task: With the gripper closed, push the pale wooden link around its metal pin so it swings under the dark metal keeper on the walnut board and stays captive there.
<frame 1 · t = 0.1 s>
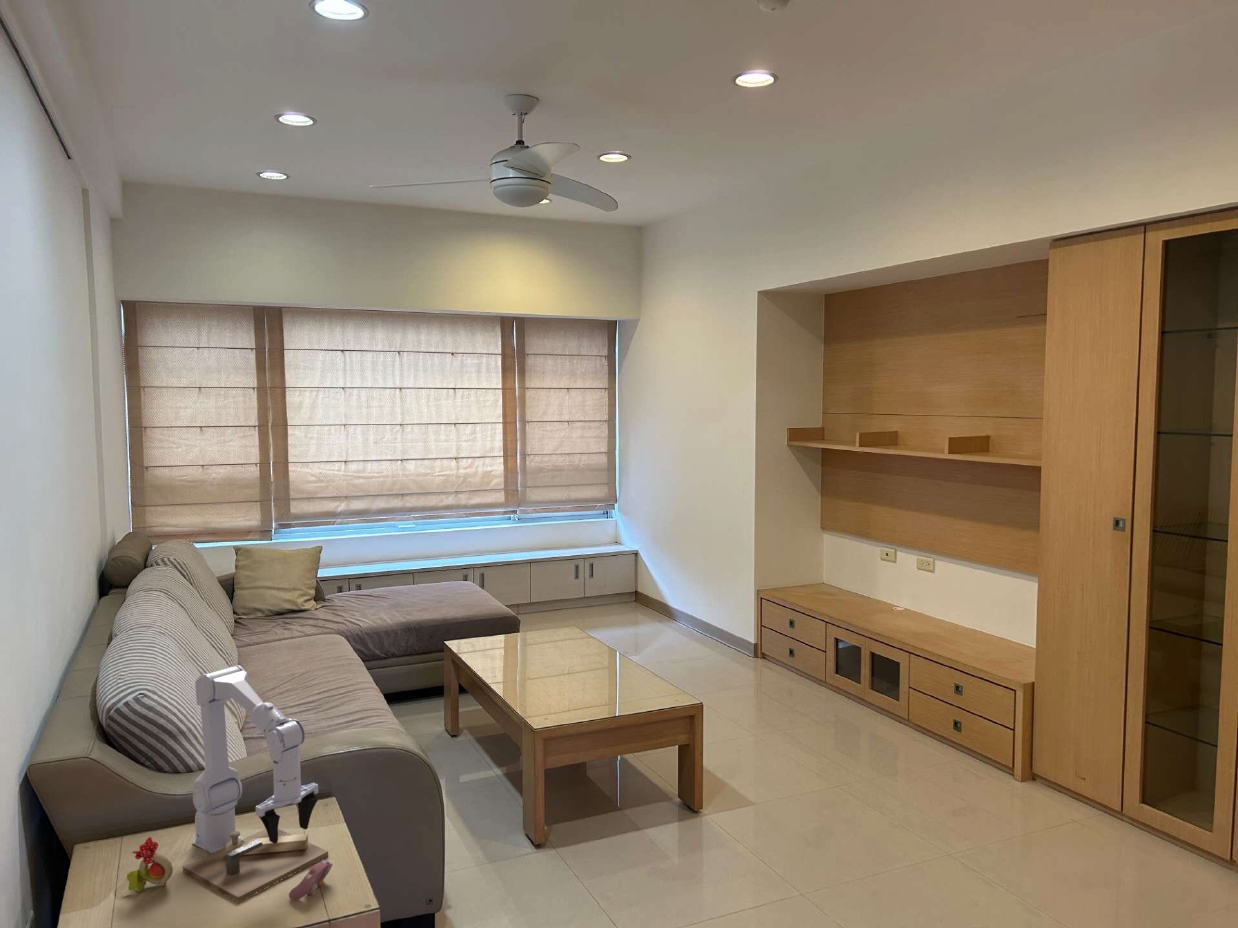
hand: (288, 834, 198), 10 cm above the table, tool pointing down, fingers open, 7 cm apart
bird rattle: (152, 886, 196), on the table
walnut board: (256, 863, 205), on the table
wooden link: (266, 839, 208), point 4 cm above the table, hinge at 45.0°
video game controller: (312, 890, 194), on the table
metal keeper: (253, 867, 203), resting on walnut board
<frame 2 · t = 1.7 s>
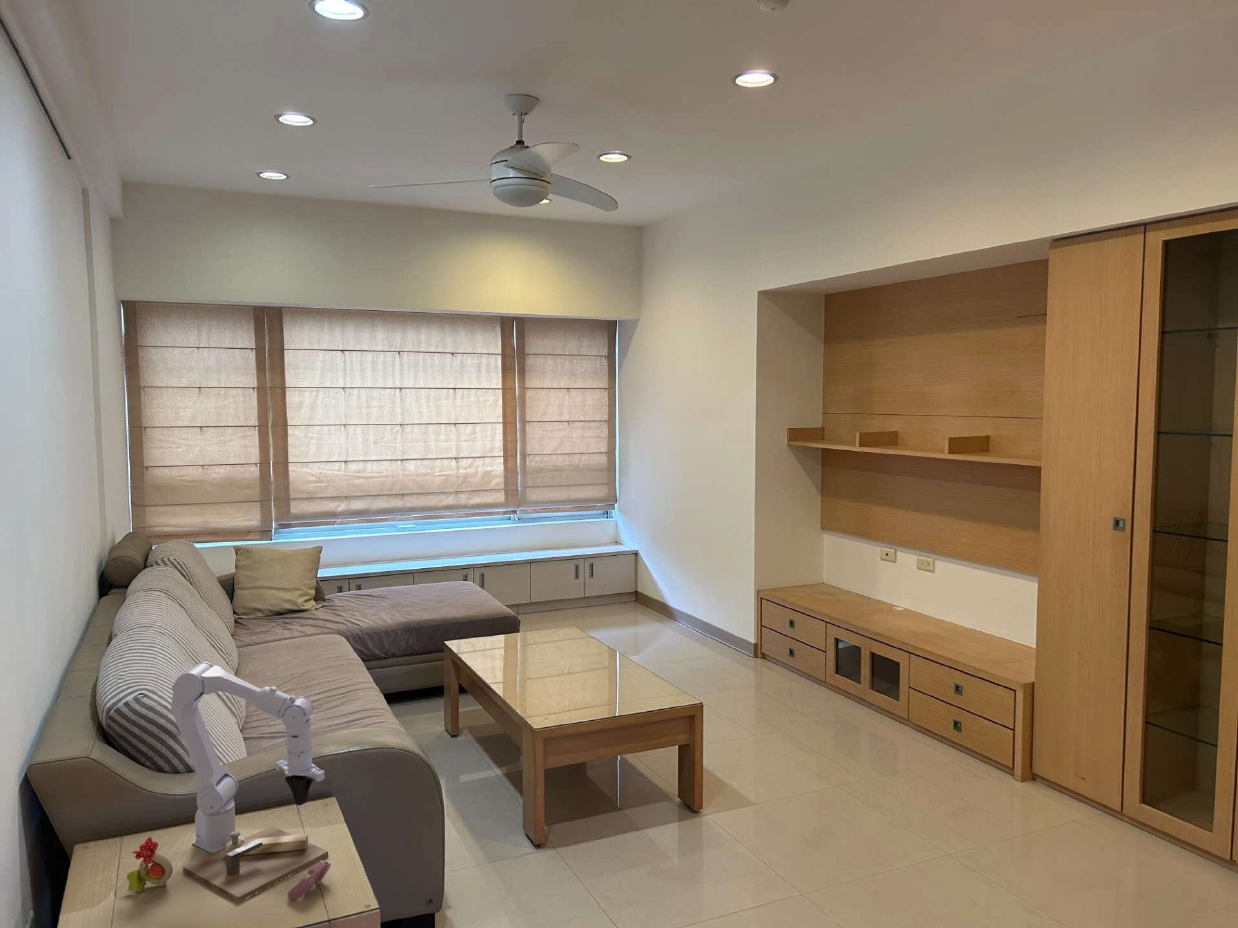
hand: (301, 803, 214), 10 cm above the table, tool pointing down, fingers closed
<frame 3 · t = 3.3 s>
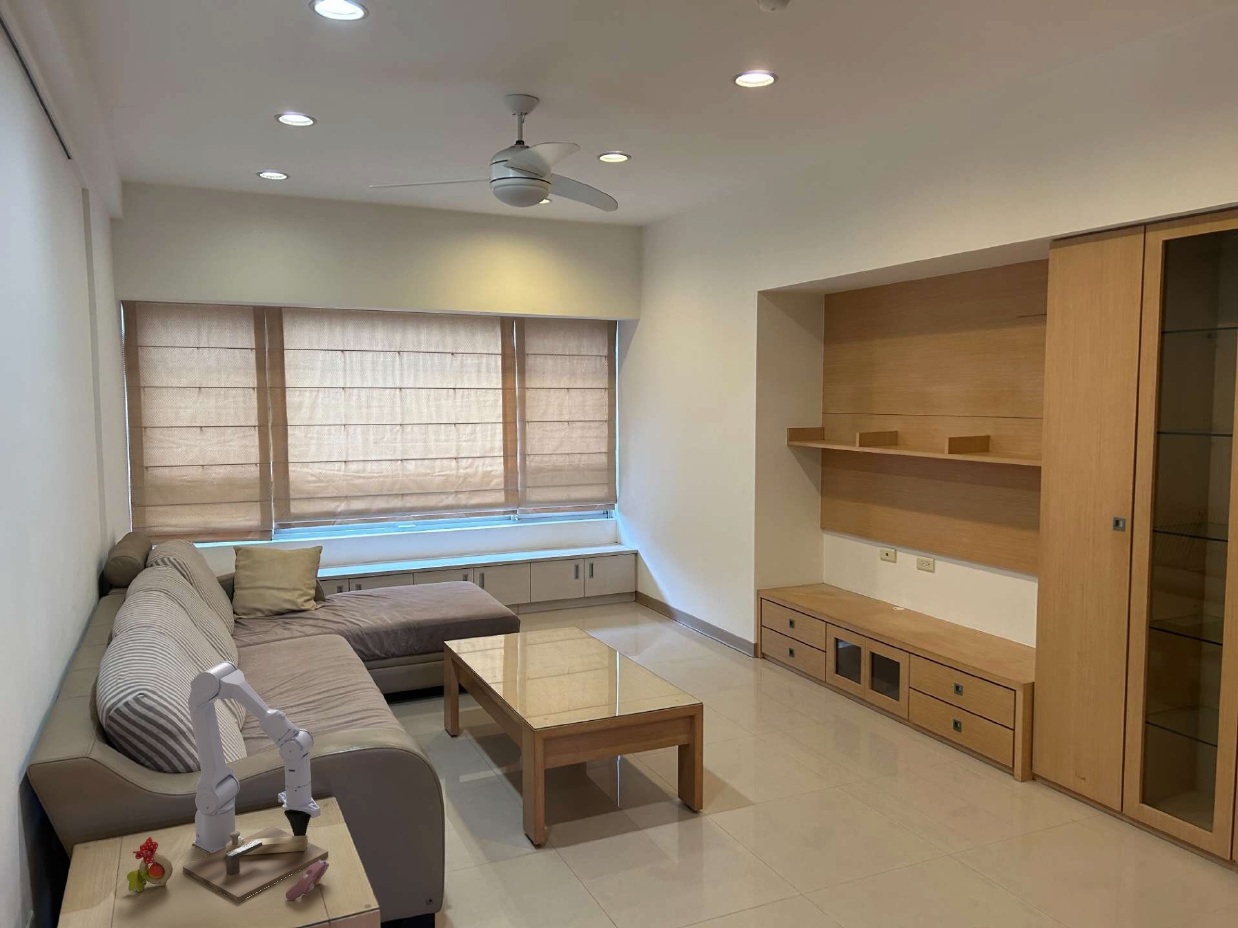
hand: (300, 837, 211), 3 cm above the table, tool pointing down, fingers closed
wooden link: (266, 840, 208), point 4 cm above the table, hinge at 42.4°, touching gripper
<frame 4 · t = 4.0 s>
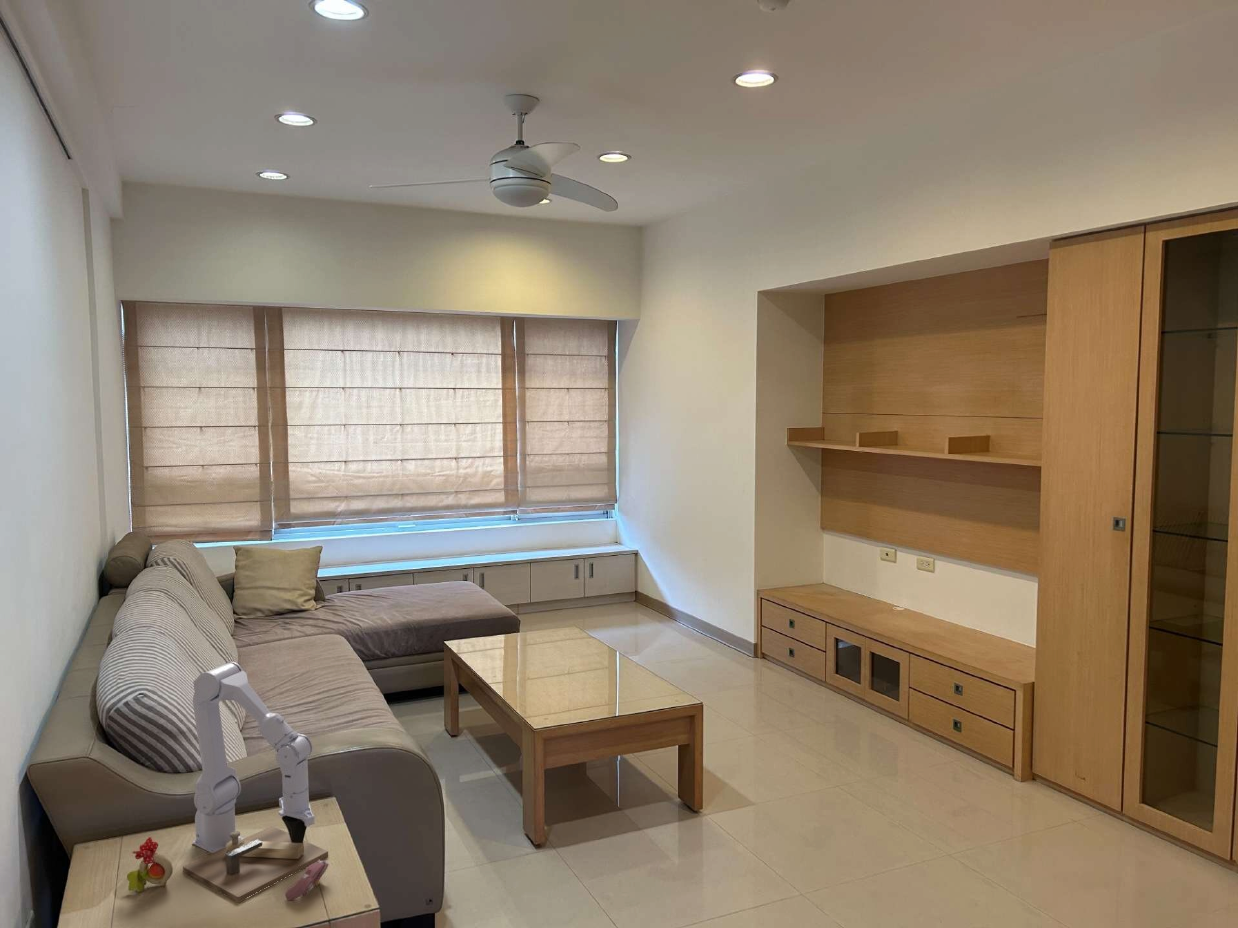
hand: (297, 844, 208), 3 cm above the table, tool pointing down, fingers closed
wooden link: (263, 844, 206), point 4 cm above the table, hinge at 29.1°, touching gripper
everything else where it was.
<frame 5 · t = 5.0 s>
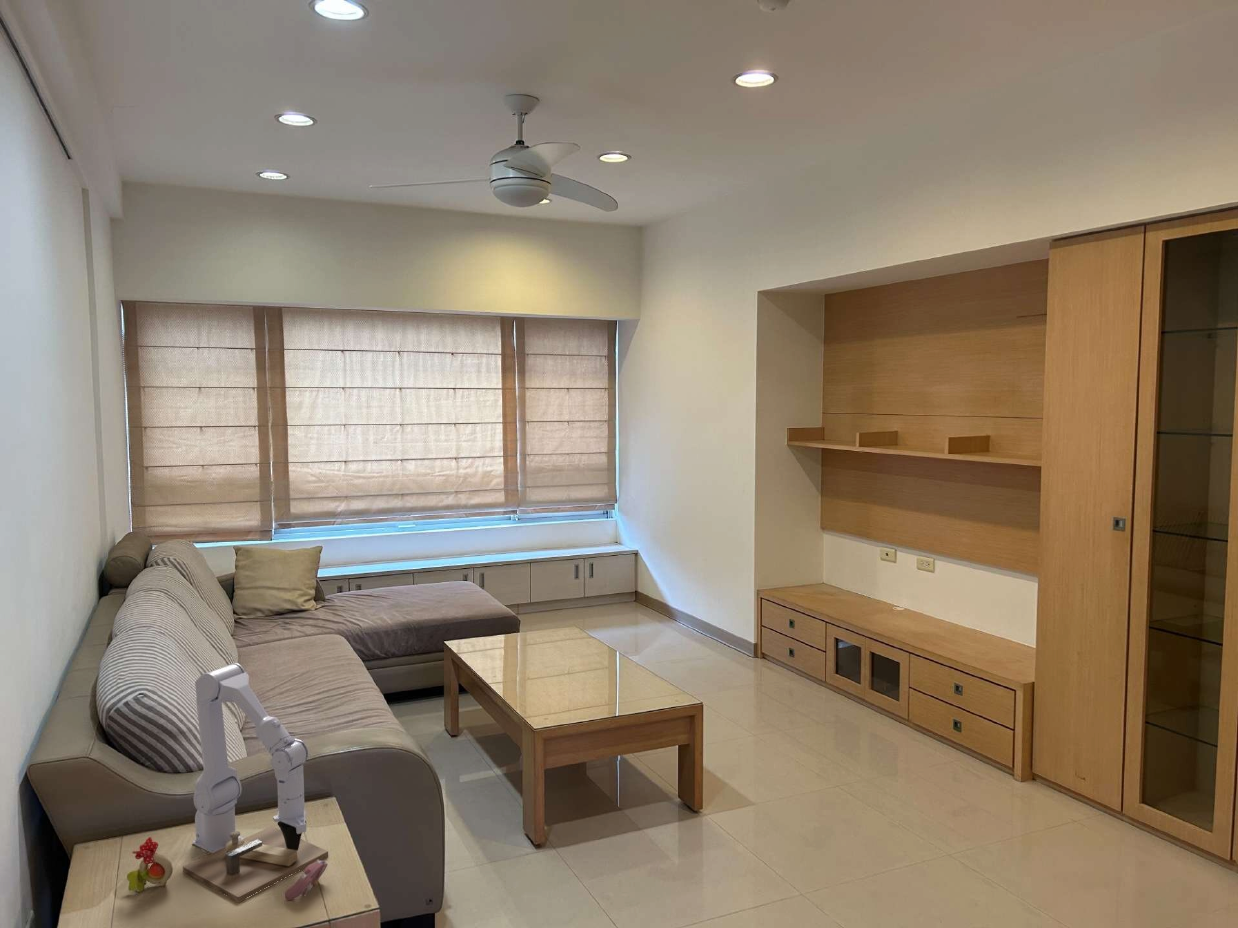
hand: (293, 850, 205), 3 cm above the table, tool pointing down, fingers closed
wooden link: (260, 847, 204), point 4 cm above the table, hinge at 17.3°, touching gripper
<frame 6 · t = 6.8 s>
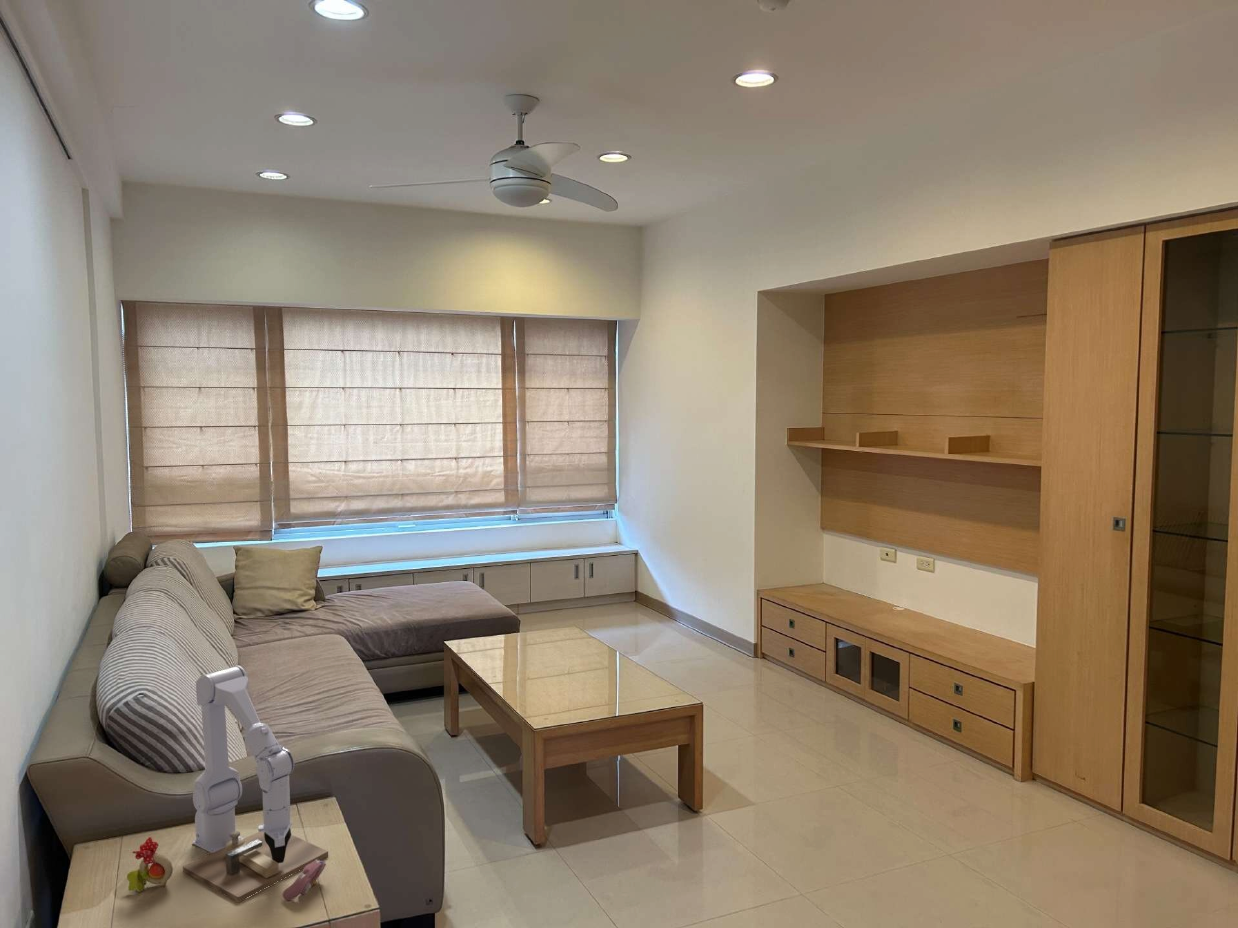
hand: (278, 862, 200), 3 cm above the table, tool pointing down, fingers closed
wooden link: (251, 852, 202), point 4 cm above the table, hinge at -3.8°, touching gripper
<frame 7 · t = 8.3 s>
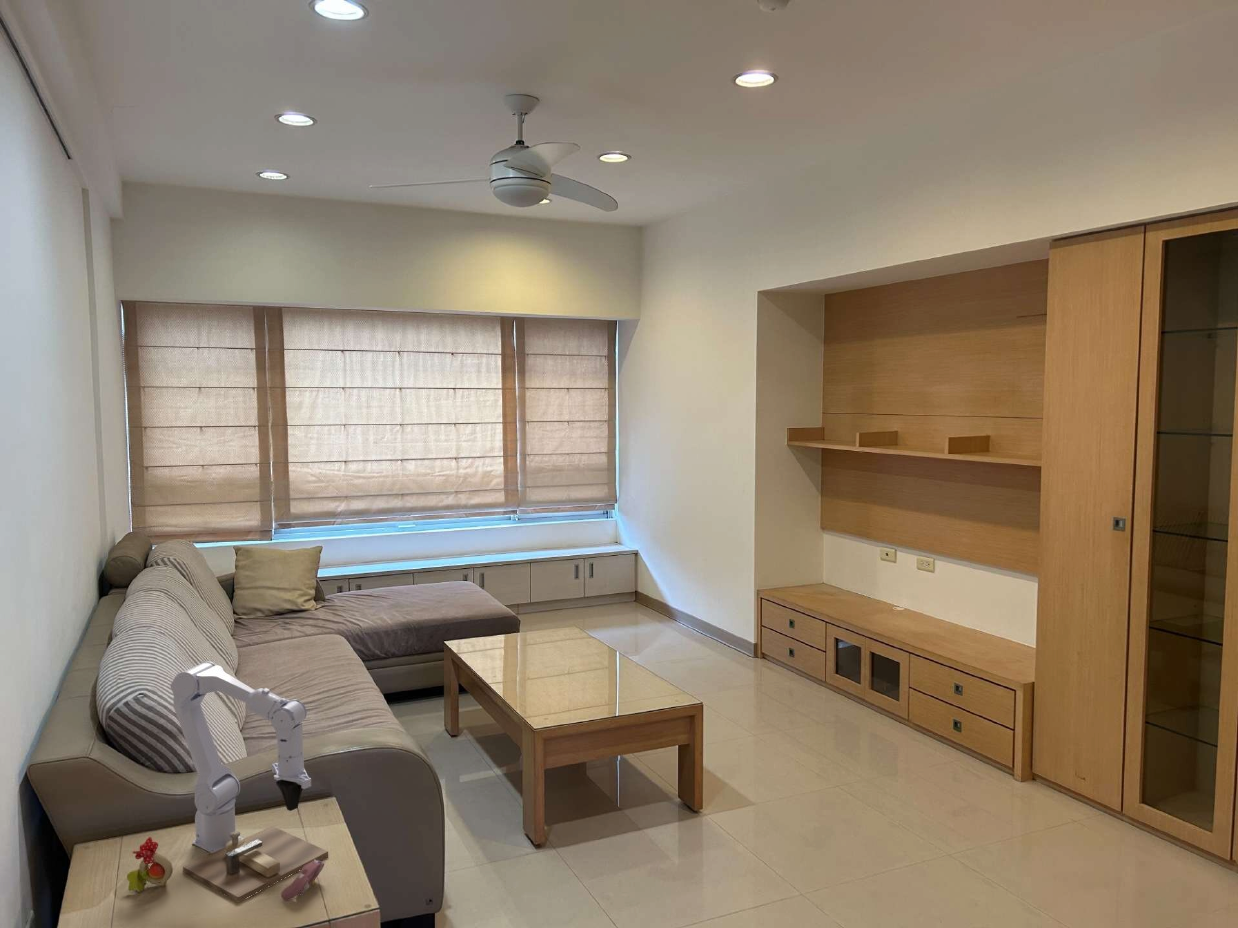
hand: (292, 808, 210), 10 cm above the table, tool pointing down, fingers closed
wooden link: (251, 851, 202), point 4 cm above the table, hinge at -2.5°
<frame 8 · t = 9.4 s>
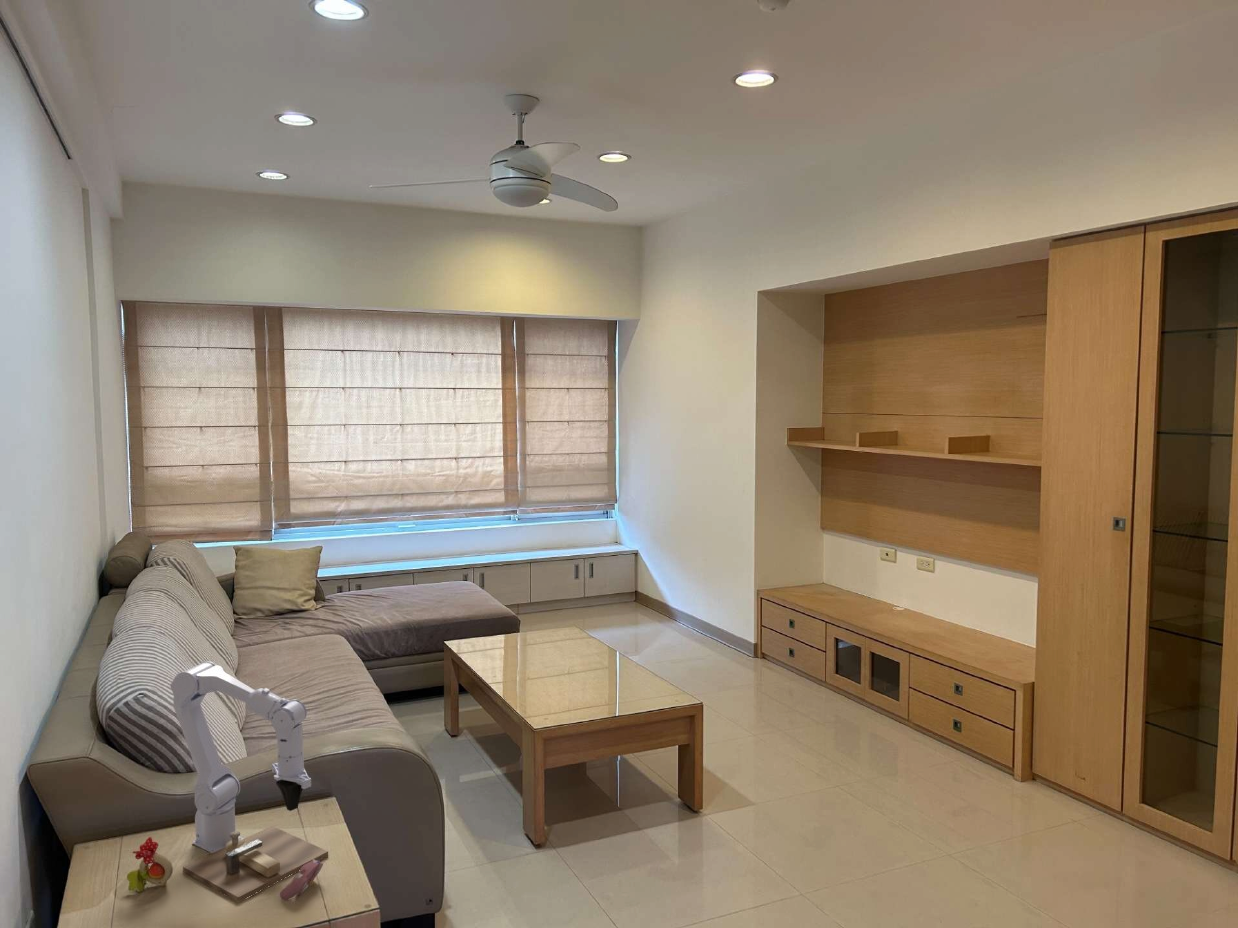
hand: (292, 808, 210), 10 cm above the table, tool pointing down, fingers closed
at the end: wooden link at -2° (first picture: +45°); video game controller moved 2.3 cm from its start; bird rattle moved 0.3 cm from its start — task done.
